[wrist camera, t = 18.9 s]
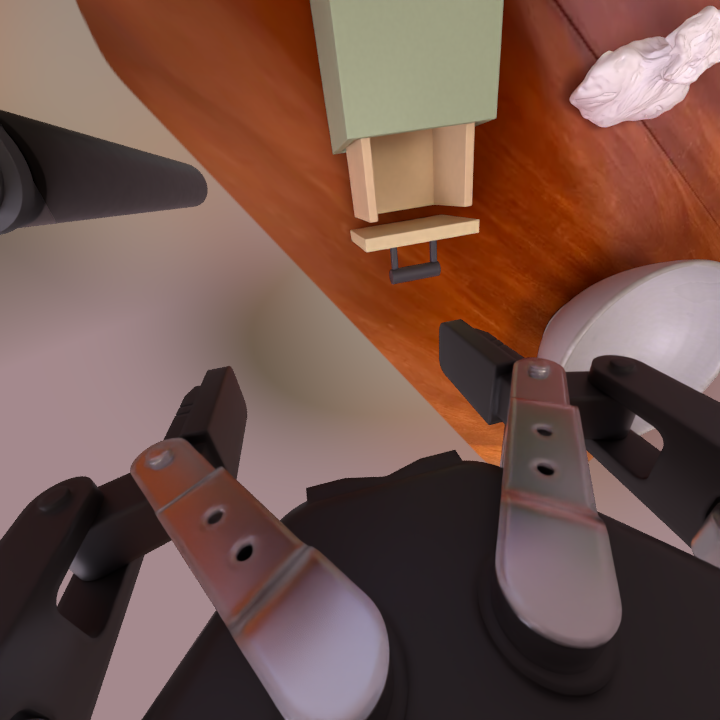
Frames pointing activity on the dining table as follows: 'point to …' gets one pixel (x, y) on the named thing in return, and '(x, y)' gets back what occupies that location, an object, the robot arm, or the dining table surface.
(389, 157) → the drawer
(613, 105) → the bust
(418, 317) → the dining table surface
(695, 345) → the decorative bowl
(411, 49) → the cabinet
